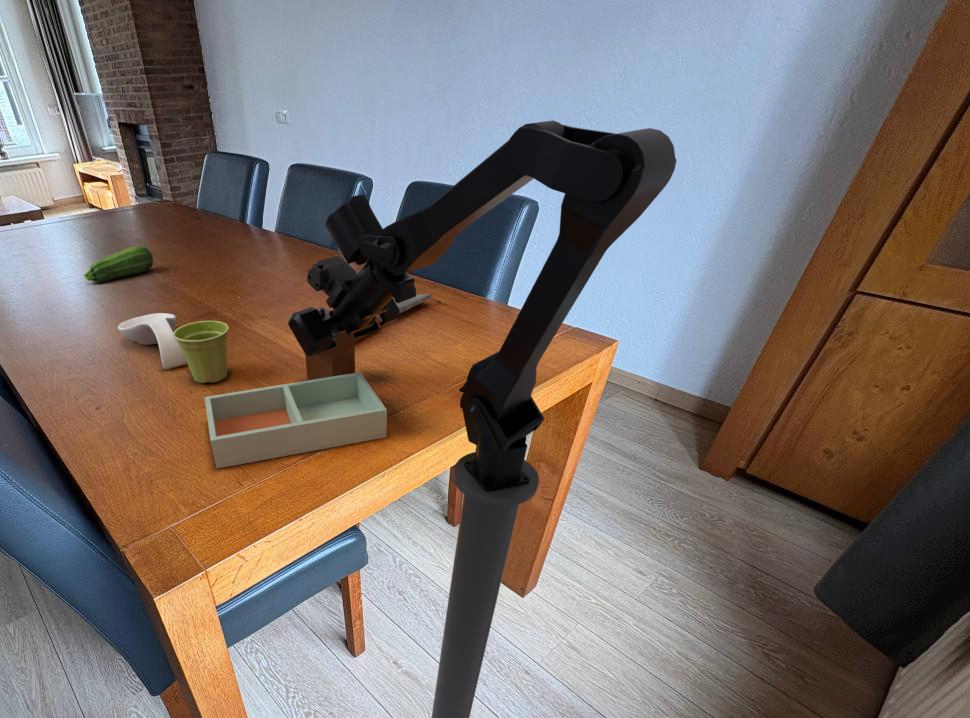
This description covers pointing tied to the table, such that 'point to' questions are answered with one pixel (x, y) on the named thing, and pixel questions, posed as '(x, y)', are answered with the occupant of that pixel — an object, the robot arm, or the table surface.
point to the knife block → (332, 356)
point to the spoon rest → (156, 336)
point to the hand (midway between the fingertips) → (324, 344)
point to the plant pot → (204, 349)
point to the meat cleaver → (402, 308)
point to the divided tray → (293, 419)
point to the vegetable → (121, 264)
